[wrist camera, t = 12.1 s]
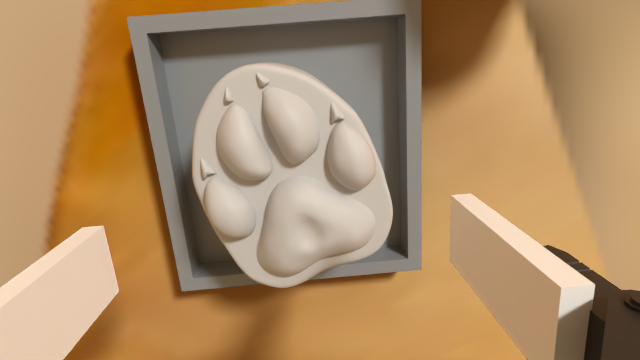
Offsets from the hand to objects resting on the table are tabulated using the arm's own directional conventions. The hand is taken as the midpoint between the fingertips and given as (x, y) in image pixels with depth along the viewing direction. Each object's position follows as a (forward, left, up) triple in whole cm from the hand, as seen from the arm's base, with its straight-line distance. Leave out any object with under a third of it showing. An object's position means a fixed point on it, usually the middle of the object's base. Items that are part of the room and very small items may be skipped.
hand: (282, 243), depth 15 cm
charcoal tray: (0, 0, -16) cm, 16 cm away
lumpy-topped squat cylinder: (0, 0, -15) cm, 15 cm away
